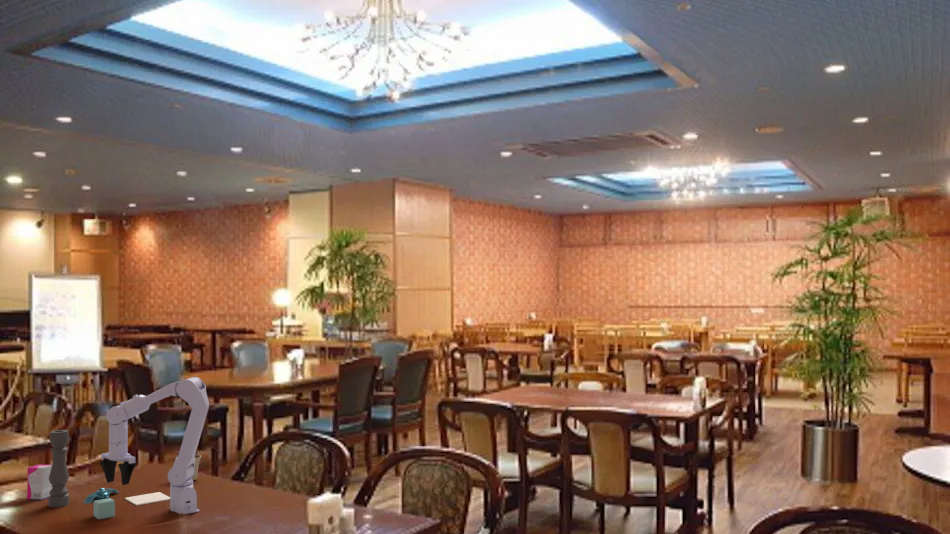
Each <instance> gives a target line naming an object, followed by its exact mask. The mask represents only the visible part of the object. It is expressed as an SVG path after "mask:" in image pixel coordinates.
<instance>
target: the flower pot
mask: <svg viewBox="0 0 950 534" xmlns="http://www.w3.org/2000/svg"><path fill="white" fill-rule="evenodd" d="M177 457H178V456H176V457H175V460H176V458H177ZM201 458H202V455H201V454H196V453H195V459H196V461H195V474H194V476H193V477H192V479H193V481H194V480H197V478H198V473H199V472H198V471H199V465H200V461H201Z"/></svg>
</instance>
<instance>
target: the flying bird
mask: <svg viewBox="0 0 950 534" xmlns="http://www.w3.org/2000/svg"><path fill="white" fill-rule="evenodd" d="M111 493H114V494H115V493H116V494H119V493H120V491H118V490H117V489H115V488H109V487H108V488H104V487H100V488H99V489H97V490H96V491H95V492H92V493H91V494H88V495H87V496H86V498H85V499H84V501H83V502H82V504H88V505H89V504H91V503H92V502H94V499H95V498H96V499H95V500H102V499H108V498H110V494H111Z"/></svg>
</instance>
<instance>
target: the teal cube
mask: <svg viewBox="0 0 950 534" xmlns="http://www.w3.org/2000/svg"><path fill="white" fill-rule="evenodd" d="M115 501H116V500H114V499H113V498H111V497H108V498H106V499H95V500H93V517H94V518H95V519H97V520H102V519H103V520H104V519H108V518H113V517H115V516H116V502H115Z"/></svg>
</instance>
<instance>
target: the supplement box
mask: <svg viewBox="0 0 950 534" xmlns="http://www.w3.org/2000/svg"><path fill="white" fill-rule="evenodd" d="M51 467H52V464H35V465H33V466H30V467H27V477H26V478H27V480H26V483H27V485H26V486H27V489H26V490H27V491H26V492H27V494H26V500H29V499H33V501H43V500H45V499H48V497H49V496H50V494H49V492H50V491H51V489H52V484H50V482H49V475H50V471H51Z"/></svg>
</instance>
